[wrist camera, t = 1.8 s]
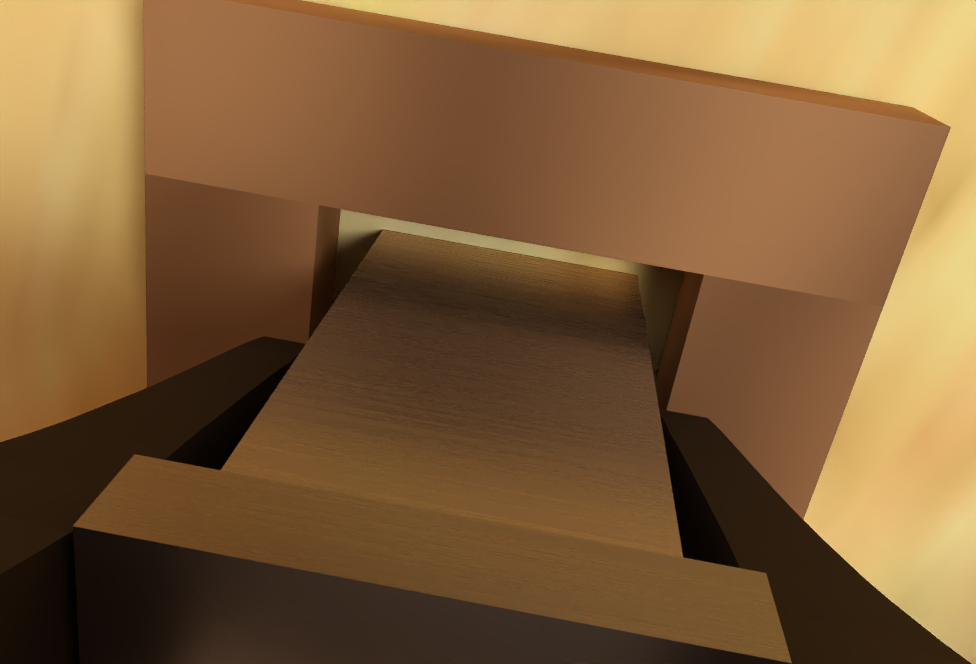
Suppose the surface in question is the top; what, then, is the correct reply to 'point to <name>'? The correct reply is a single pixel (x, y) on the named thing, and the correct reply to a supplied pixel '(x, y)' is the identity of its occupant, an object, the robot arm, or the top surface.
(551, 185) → the collar
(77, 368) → the top surface
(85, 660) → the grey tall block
